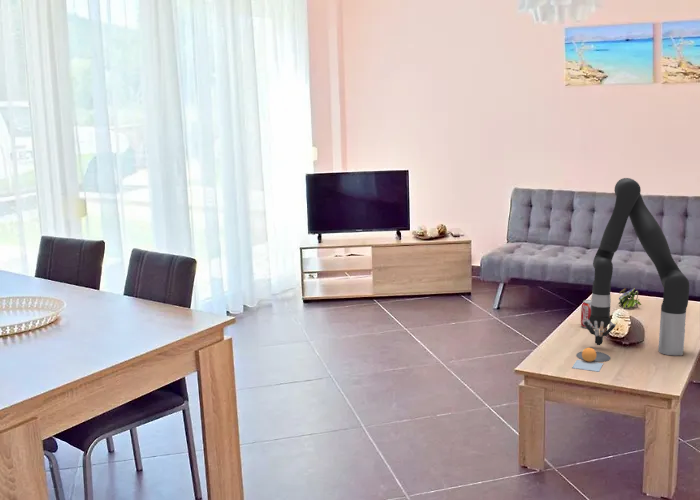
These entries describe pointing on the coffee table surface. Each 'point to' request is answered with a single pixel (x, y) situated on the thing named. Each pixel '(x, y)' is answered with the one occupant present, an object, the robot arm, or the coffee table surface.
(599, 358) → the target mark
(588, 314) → the soda can
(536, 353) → the coffee table surface
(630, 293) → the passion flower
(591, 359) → the ball
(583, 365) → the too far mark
